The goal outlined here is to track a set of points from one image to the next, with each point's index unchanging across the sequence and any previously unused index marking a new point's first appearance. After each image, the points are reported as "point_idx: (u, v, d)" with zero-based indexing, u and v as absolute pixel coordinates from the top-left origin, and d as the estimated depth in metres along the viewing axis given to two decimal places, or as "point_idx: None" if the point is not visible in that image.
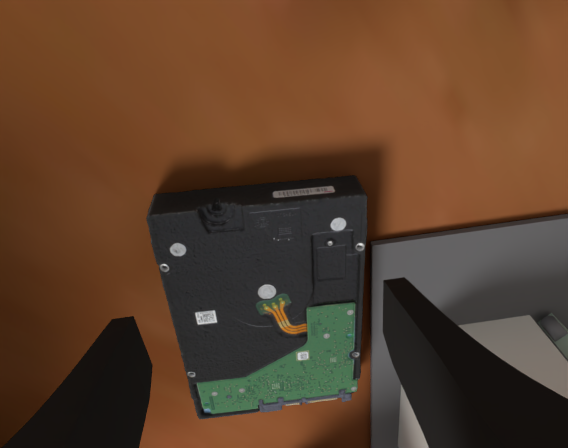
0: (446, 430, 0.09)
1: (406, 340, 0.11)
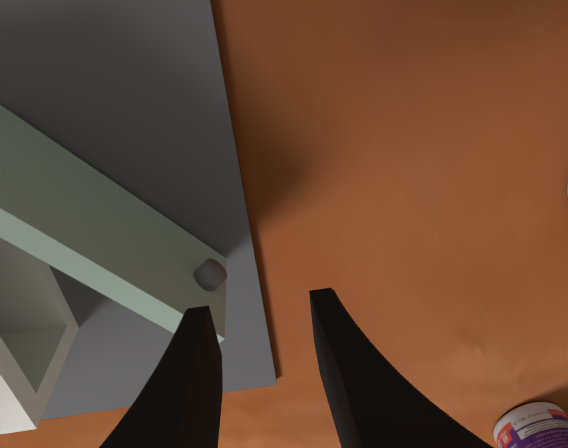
0: (348, 445, 0.09)
1: (323, 352, 0.11)
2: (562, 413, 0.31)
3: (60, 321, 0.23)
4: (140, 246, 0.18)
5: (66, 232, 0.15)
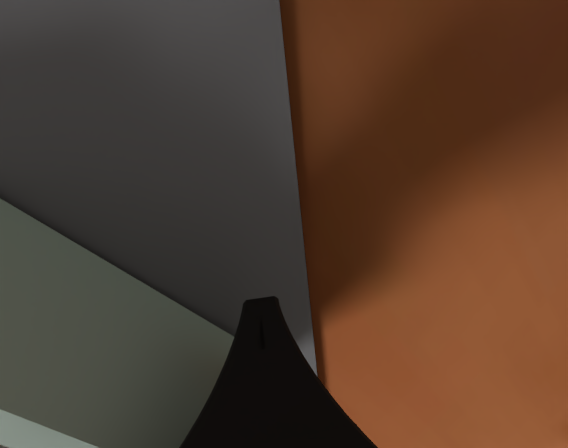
0: None
1: None
2: None
3: None
4: (168, 383, 0.12)
5: (55, 398, 0.09)
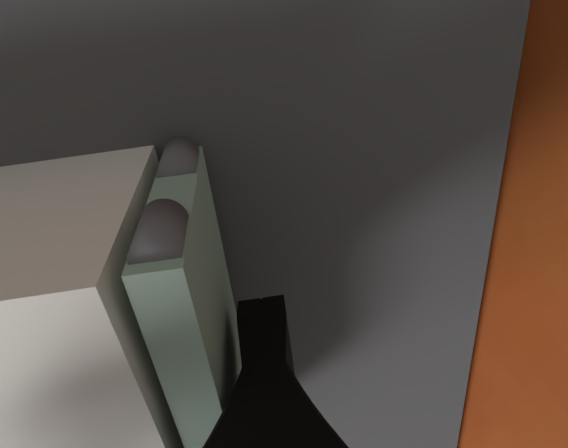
0: None
1: None
2: None
3: None
4: None
5: None
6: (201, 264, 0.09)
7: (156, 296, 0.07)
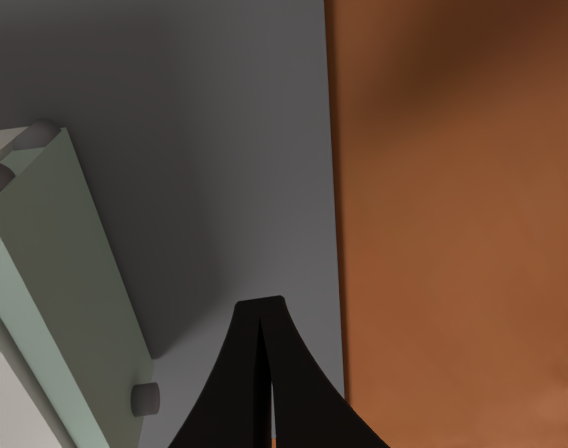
0: None
1: None
2: None
3: None
4: (108, 352, 0.16)
5: (67, 334, 0.13)
6: (31, 215, 0.12)
7: None
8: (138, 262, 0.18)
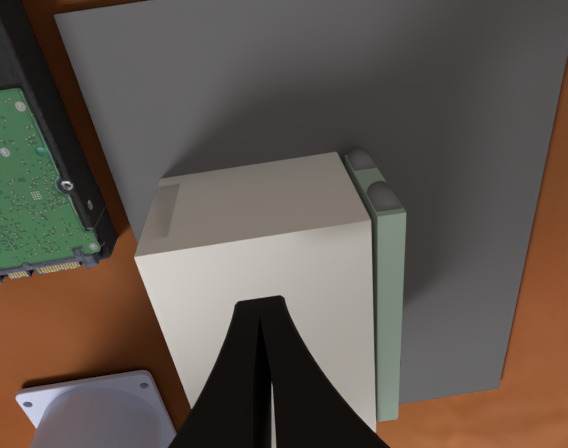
0: None
1: (268, 361, 0.11)
2: None
3: None
4: None
5: None
6: None
7: (390, 227, 0.15)
8: None
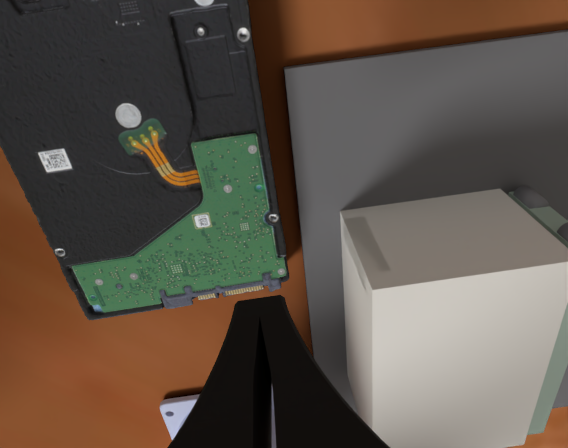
0: None
1: (268, 361, 0.11)
2: None
3: None
4: None
5: None
6: None
7: None
8: None
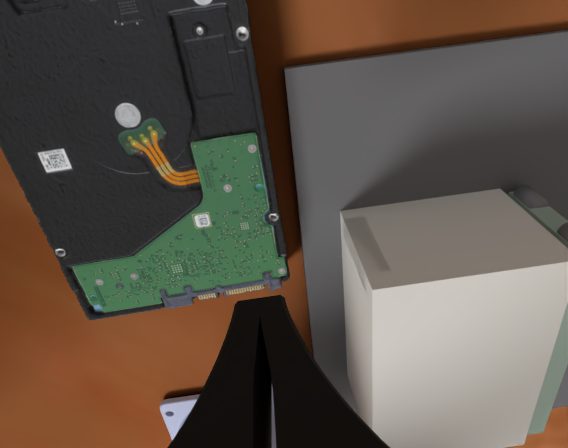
0: None
1: (268, 361, 0.11)
2: None
3: None
4: None
5: None
6: None
7: None
8: None
